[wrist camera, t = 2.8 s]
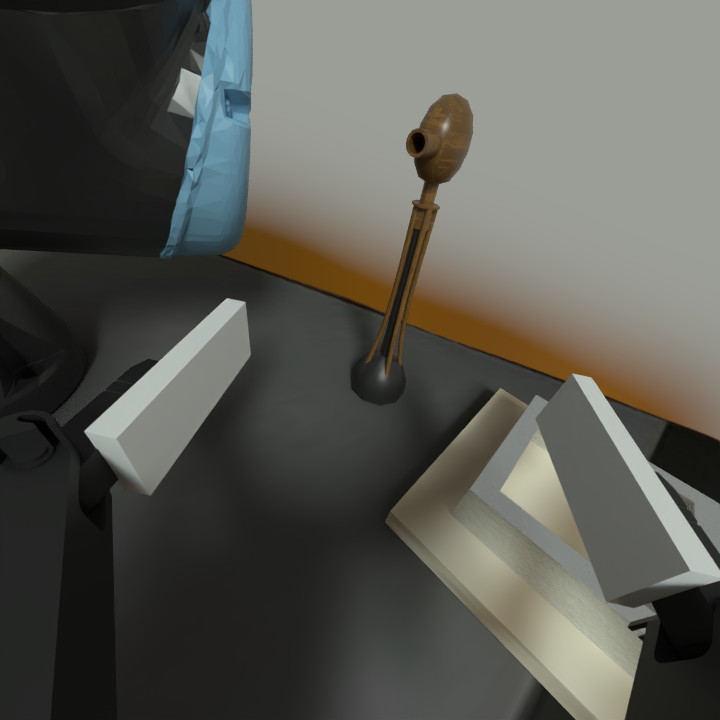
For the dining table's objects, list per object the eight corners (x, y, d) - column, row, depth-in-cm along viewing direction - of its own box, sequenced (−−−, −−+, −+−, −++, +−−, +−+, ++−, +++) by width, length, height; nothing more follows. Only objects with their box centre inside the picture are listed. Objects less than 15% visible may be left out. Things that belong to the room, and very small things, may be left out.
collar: (449, 513, 18) (469, 489, 16) (516, 420, 25) (536, 394, 23) (669, 710, 13) (736, 709, 11) (677, 524, 20) (719, 504, 18)
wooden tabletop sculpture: (379, 421, 24) (483, 89, 11) (333, 393, 26) (379, 73, 13) (411, 383, 28) (513, 107, 15) (369, 360, 30) (431, 93, 17)
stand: (384, 521, 18) (390, 511, 17) (492, 399, 28) (500, 388, 27) (715, 864, 11) (756, 877, 10) (704, 535, 21) (724, 527, 20)
